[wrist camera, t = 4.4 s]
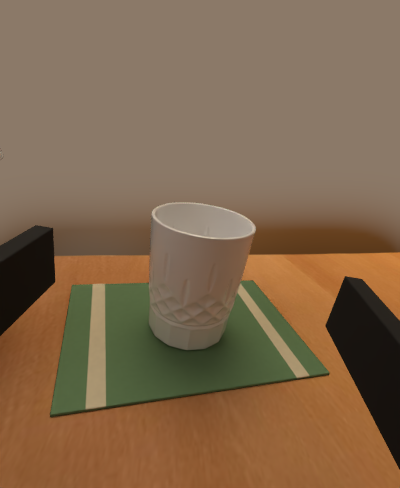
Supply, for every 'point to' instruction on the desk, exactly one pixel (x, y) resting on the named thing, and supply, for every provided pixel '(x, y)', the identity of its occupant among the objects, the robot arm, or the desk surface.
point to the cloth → (168, 351)
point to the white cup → (195, 271)
